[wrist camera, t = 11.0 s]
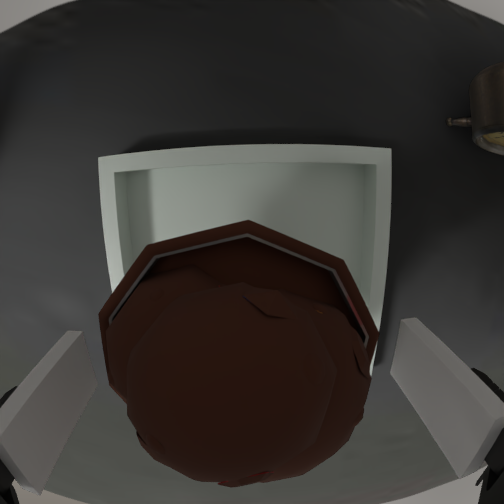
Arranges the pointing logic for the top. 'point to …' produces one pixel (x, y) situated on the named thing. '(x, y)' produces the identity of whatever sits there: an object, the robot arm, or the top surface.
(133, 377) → the ice cream bowl
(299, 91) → the top surface
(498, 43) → the top surface
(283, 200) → the tray
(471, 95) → the alarm clock
